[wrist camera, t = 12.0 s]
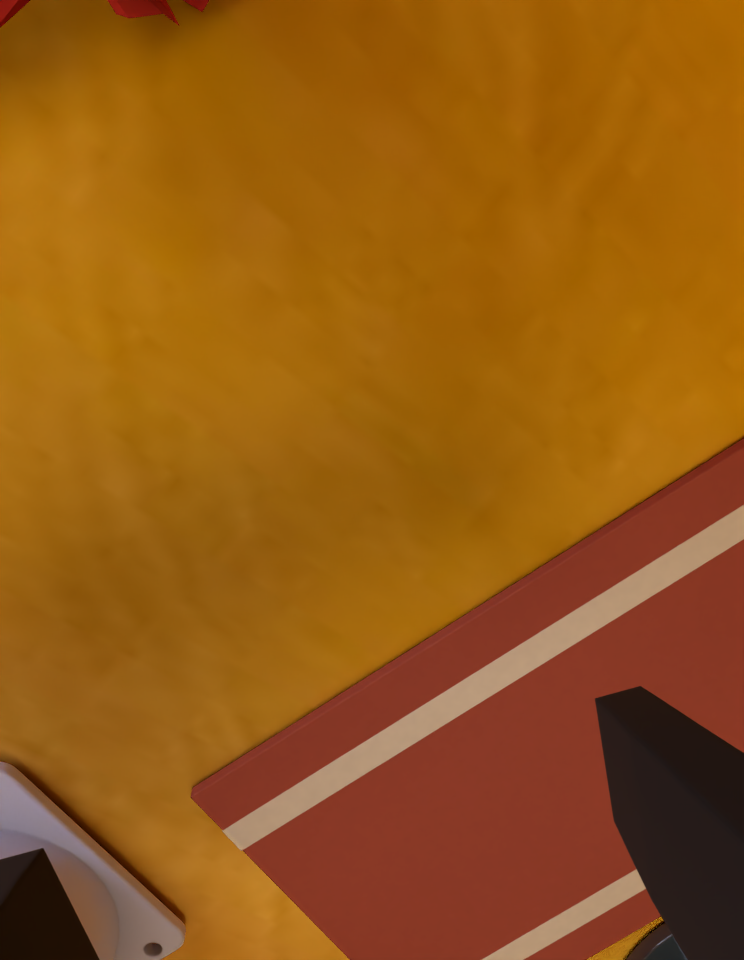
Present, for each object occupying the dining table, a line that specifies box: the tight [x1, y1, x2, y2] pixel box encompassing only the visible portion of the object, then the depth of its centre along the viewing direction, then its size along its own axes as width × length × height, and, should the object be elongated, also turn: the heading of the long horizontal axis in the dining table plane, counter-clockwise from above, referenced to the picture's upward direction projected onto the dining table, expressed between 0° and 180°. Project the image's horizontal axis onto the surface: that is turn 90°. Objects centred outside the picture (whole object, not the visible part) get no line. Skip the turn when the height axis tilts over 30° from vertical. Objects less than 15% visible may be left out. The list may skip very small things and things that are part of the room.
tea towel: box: [191, 438, 744, 960], centre depth 21 cm, size 18×13×1 cm
